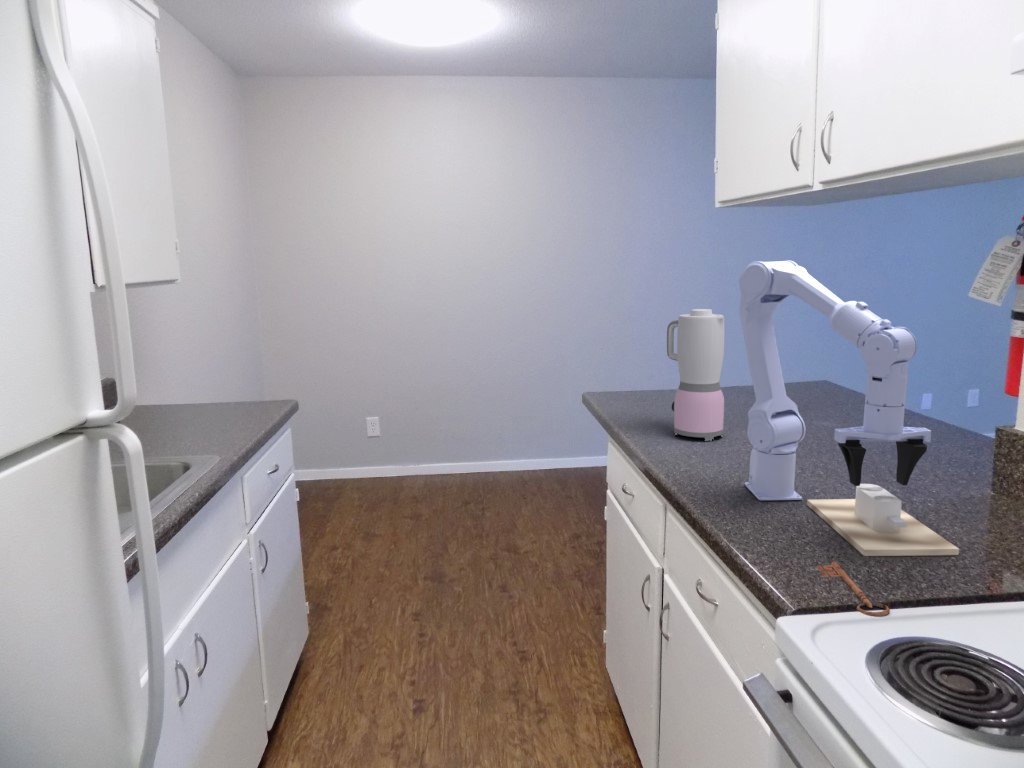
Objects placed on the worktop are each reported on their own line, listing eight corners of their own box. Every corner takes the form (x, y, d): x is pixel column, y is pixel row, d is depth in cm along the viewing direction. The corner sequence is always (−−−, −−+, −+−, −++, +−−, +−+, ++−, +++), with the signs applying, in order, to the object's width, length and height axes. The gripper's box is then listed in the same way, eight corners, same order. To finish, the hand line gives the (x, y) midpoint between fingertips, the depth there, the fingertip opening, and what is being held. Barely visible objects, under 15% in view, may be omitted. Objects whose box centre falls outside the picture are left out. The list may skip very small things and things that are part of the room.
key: (807, 568, 102) (846, 620, 88) (807, 562, 102) (846, 613, 87) (847, 566, 102) (894, 617, 87) (847, 560, 101) (894, 610, 87)
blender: (732, 435, 175) (737, 309, 169) (708, 445, 166) (712, 312, 161) (678, 425, 186) (680, 306, 180) (653, 434, 178) (654, 310, 172)
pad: (806, 504, 126) (807, 499, 126) (884, 503, 125) (885, 498, 125) (864, 556, 104) (864, 549, 104) (958, 555, 104) (959, 548, 104)
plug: (850, 511, 119) (852, 483, 119) (873, 511, 119) (875, 483, 118) (886, 540, 107) (888, 509, 106) (912, 539, 107) (915, 509, 106)
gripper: (850, 409, 107) (844, 492, 110) (945, 408, 107) (937, 491, 109) (831, 399, 114) (825, 478, 117) (919, 398, 114) (912, 477, 116)
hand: (878, 483), depth 113 cm, fingers open, 7 cm apart
